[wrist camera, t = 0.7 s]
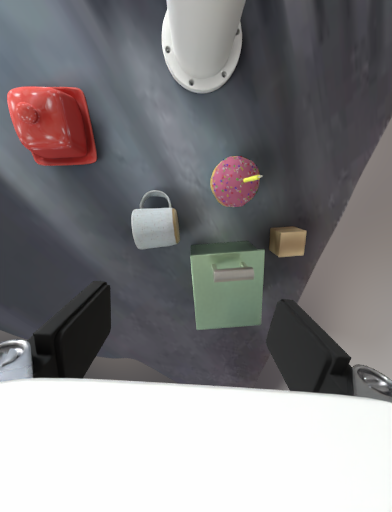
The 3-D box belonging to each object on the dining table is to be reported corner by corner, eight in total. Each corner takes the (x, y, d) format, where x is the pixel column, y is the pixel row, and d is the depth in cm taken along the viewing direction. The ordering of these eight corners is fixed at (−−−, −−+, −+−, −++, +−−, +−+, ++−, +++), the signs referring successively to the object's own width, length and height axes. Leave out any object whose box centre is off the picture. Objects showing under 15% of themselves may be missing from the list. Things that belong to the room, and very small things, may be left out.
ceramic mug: (181, 239, 40) (180, 249, 33) (144, 243, 40) (134, 254, 33) (175, 188, 37) (171, 186, 30) (134, 193, 37) (121, 192, 30)
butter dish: (87, 89, 31) (52, 54, 23) (101, 164, 35) (75, 156, 27) (19, 92, 31) (-41, 57, 23) (41, 167, 35) (-4, 160, 27)
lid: (190, 254, 32) (190, 267, 26) (263, 248, 32) (278, 260, 27) (196, 327, 37) (197, 350, 32) (259, 322, 37) (271, 344, 32)
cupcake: (247, 154, 35) (274, 136, 24) (254, 199, 38) (281, 202, 27) (203, 167, 36) (210, 156, 24) (214, 210, 38) (224, 218, 27)
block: (270, 228, 40) (281, 232, 35) (293, 226, 40) (306, 230, 35) (268, 249, 42) (279, 257, 37) (290, 248, 42) (303, 255, 37)
